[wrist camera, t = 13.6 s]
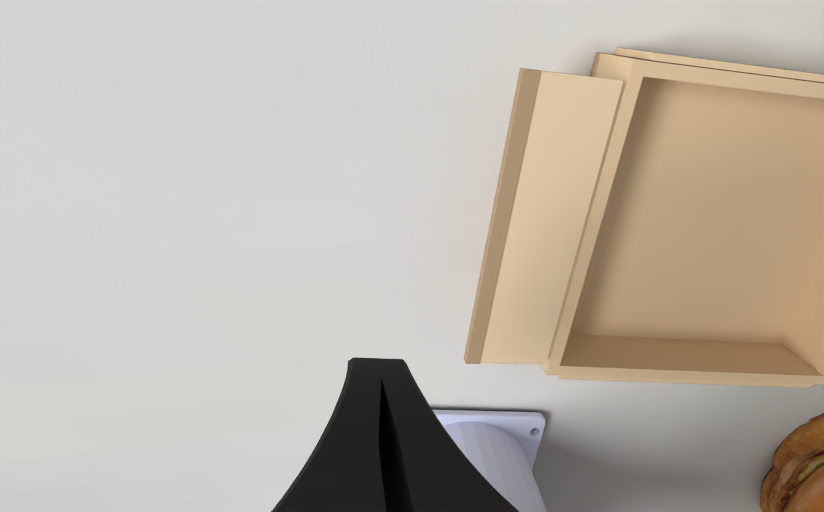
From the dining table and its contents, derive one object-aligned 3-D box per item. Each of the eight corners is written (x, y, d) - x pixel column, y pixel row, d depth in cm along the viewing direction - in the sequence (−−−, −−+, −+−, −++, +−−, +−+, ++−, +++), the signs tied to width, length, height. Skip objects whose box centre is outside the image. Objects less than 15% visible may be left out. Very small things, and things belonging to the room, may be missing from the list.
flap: (618, 79, 18) (520, 68, 17) (623, 80, 17) (523, 68, 17) (542, 359, 23) (463, 358, 22) (546, 364, 22) (465, 363, 22)
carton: (779, 352, 27) (825, 389, 25) (524, 340, 26) (544, 379, 23) (910, 86, 22) (989, 96, 19) (597, 45, 20) (636, 50, 17)
